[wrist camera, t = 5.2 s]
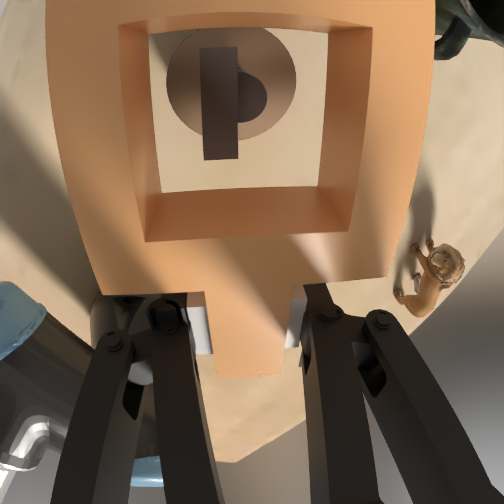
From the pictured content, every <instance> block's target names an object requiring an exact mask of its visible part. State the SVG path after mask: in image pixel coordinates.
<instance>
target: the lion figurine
mask: <svg viewBox="0 0 504 504" xmlns="http://www.w3.org/2000/svg"><path fill="white" fill-rule="evenodd" d="M426 246H427V249H428V251H429V255H428V257H425V256H424V255H423V254H422V252H421V250H420V249H419V246H418V245H417V244H414V245H413V246H412V247H411V251H412V252H413V254H414V255H415V256H416V257H417V258H418V260H419V261H420V264H421V265H422V267H423V269H424V273H423V275H422V277H421V275H416V276H415V278H414V290H415V292H416V293H417V295H406V296H403V297H400V294H401V291H400V290H399V289H397V290H395V291H394V296H395V298H396V299H397V301H398V302H399V303H400V304H401V305H405V306H406V308H407V309H408V310H409V311H410V312H411V313H412V314H413V315H414V316H416V317H424V316H426V315H427V314H428V313H430V312H431V311H432V310H433V309H434V307H435V304H436V301H437V298H438V296H439V294H440V292H441V290H442V289H445V288H449V287H450V286H451V285H452V284H453V283H457V281H458V280H459V279H460V278H461V276H462V274H463V272H464V269H465V266H464V261H465V260H464V258H462V256H461V254H460V252H459V251H458V250H456V249H454V248H453V247H451V246H450V245H448V244H442V245H440V246H439V247H435V248H433V246H434V242H433V241H432V240H429V241H428V242H427V244H426ZM419 281H420V284H419Z"/></svg>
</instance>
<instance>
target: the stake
mask: <svg viewBox="0 0 504 504" xmlns="http://www.w3.org/2000/svg"><path fill="white" fill-rule="evenodd" d="M166 87H167V94H168V98H169V101H170V103H171V106H172V108H173V110H174V111H175V113H176V115H177V116H178V117H179V118H180V119H181V121H182V122H183V123H184V124H186V125H187V126H188V127H189V128H191V129H192V130H193V131H195V132H197V133H199V134H200V135H203V153H204V160H222V159H238V140H244V139H248V138H251V137H254V136H257V135H259V134H261V133H263V132H265V131H267V130H268V129H270V128H271V127H272V126H274V125H275V124H276V123H277V122H278V121H279V120H280V119H281V118H282V117H283V115H284V114H285V113H286V111H287V110H288V108H289V106H290V104H291V102H292V99H293V97H294V93H295V88H296V72H295V66H294V63H293V60H292V58H291V56H290V54H289V52H288V50H287V49H286V47H285V46H284V45H283V44H282V42H281V41H280V40H279V39H278V38H276V37H275V36H274V35H273V34H272V33H270V32H268V31H267V30H265V29H263V28H258V27H227V28H204V29H200V30H198V31H196V32H195V33H193V34H192V35H190V36H189V37H188V38H187V39H186V40H185V41H184V42H183V43H182V44H181V45H180V46H179V47H178V49H177V50H176V52H175V53H174V55H173V57H172V59H171V61H170V64H169V67H168V71H167V78H166Z"/></svg>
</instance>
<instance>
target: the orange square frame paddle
mask: <svg viewBox="0 0 504 504" xmlns="http://www.w3.org/2000/svg"><path fill="white" fill-rule="evenodd" d="M227 27H258V28H281V29H294V30H305V31H314V32H322V33H328V58H327V79H326V95H325V110H324V123H323V136H322V147H321V158H320V168H319V178H318V186H303V187H259V188H234V189H215V190H198V191H184V192H170V193H162V192H161V185H160V177H159V169H158V161H157V152H156V143H155V134H154V123H153V112H152V99H151V85H150V68H149V43H148V35H149V34H156V33H163V32H171V31H180V30H191V29H204V28H227ZM45 29H46V58H47V72H48V83H49V92H50V100H51V108H52V115H53V121H54V127H55V133H56V139H57V144H58V149H59V154H60V159H61V164H62V168H63V172H64V177H65V181H66V185H67V189H68V193H69V197H70V200H71V204H72V208H73V211H74V215H75V218H76V221H77V225H78V228H79V231H80V234H81V237H82V240H83V243H84V246H85V249H86V252H87V255H88V258H89V261H90V264H91V267H92V269H93V272H94V275H95V277H96V280H97V282H98V285H99V288H100V290H101V293H102V295H129V294H158V293H181V292H201V291H204V292H205V299H206V307H207V314H208V321H209V328H210V334H211V341H212V347H213V354H214V360H215V366H216V372H217V378H218V379H228V378H243V377H255V376H266V375H276V374H281V369H282V363H283V356H284V350H285V343H286V336H287V329H288V322H289V314H290V307H291V299H292V291H293V285H305V284H317V283H328V282H339V281H350V280H360V279H370V278H380V277H387V276H388V273H389V270H390V267H391V264H392V261H393V258H394V255H395V252H396V249H397V245H398V242H399V239H400V235H401V232H402V229H403V225H404V221H405V218H406V214H407V211H408V207H409V203H410V199H411V195H412V191H413V187H414V182H415V178H416V174H417V169H418V164H419V160H420V155H421V149H422V144H423V139H424V133H425V127H426V121H427V114H428V107H429V100H430V91H431V82H432V72H433V60H434V44H435V0H46V17H45Z"/></svg>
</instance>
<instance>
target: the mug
mask: <svg viewBox="0 0 504 504" xmlns="http://www.w3.org/2000/svg"><path fill="white" fill-rule="evenodd" d="M435 35H443V36H442V37H441V38H440V39H439V40H437V41H435V44H434V60H449V59H451V58H452V57H454V56H456V55H458V54H459V52H460V51H461V49H462V48H463V47H464V45H465V44H466V42H467V39H468V38H476V39H483V40H489V41H493V42H494V43H496V44H498V45H499V46H501V47H503V48H504V0H435Z"/></svg>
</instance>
